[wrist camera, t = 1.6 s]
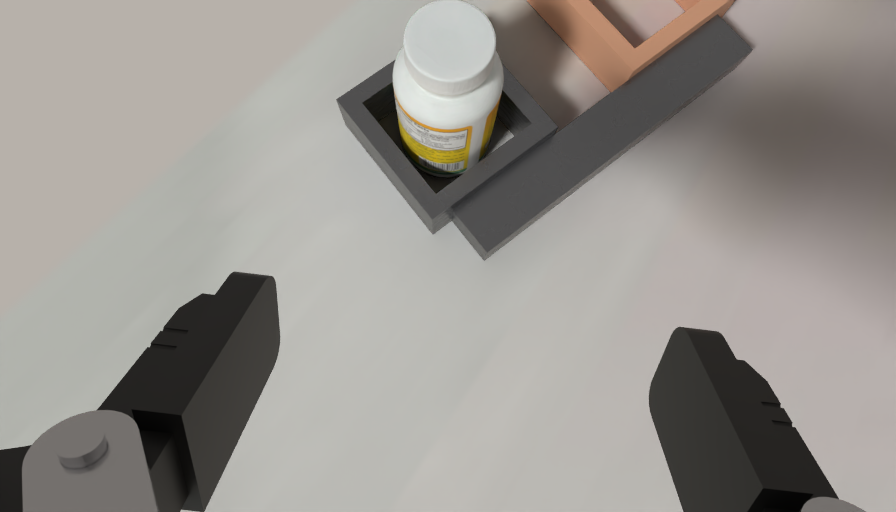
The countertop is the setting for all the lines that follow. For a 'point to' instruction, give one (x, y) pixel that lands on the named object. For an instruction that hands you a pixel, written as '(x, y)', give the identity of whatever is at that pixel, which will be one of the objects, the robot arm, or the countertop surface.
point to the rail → (542, 139)
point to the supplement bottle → (447, 87)
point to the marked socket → (606, 48)
